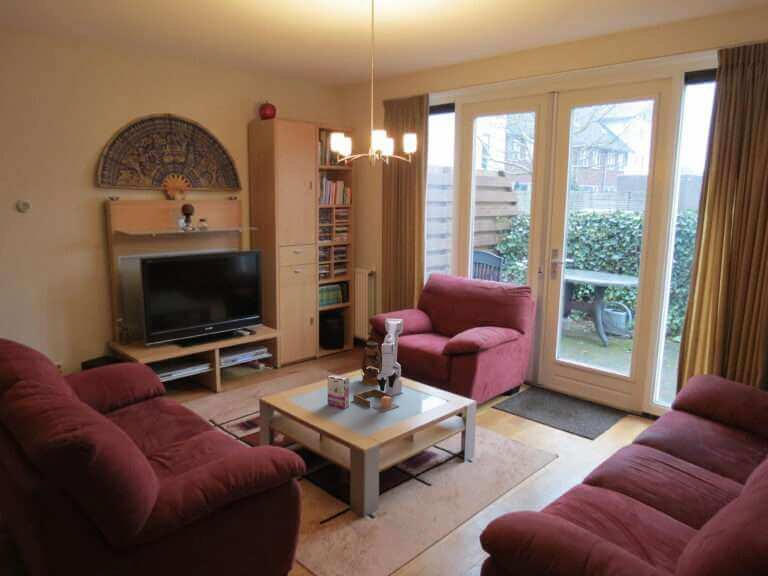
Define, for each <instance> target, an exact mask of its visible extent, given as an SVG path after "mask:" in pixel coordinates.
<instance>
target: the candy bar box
mask: <svg viewBox="0 0 768 576" xmlns="http://www.w3.org/2000/svg"><path fill="white" fill-rule="evenodd" d="M327 405H328V406H330V407H335V408H339V409H344V410H345V409H347V408H348V407H349V406H350V377H347V376H342V375H337V374H330V375H328V376H327Z"/></svg>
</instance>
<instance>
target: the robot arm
mask: <svg viewBox="0 0 768 576" xmlns="http://www.w3.org/2000/svg"><path fill="white" fill-rule="evenodd" d="M384 327H385V330H386V332H387V334H386V335H384V336H385V337H384V340H383V343H382V344H381V365H382V371H381V373H380V374H378V376H377V381H378V383H379V385H378V386H379V390H380V391H382V392H384V393H387V394H389V395H390V397H392V396H397V395H400V394H402V393H403V390H402V389H403V381H402V378H401V375H402V368H401V367H402V366H401V364H400V363H398V362H397V358H398V343H399V335H400V334H402V333H403V329H404V328H403V327H404V320H403V318H386V319H385V324H384Z"/></svg>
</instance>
